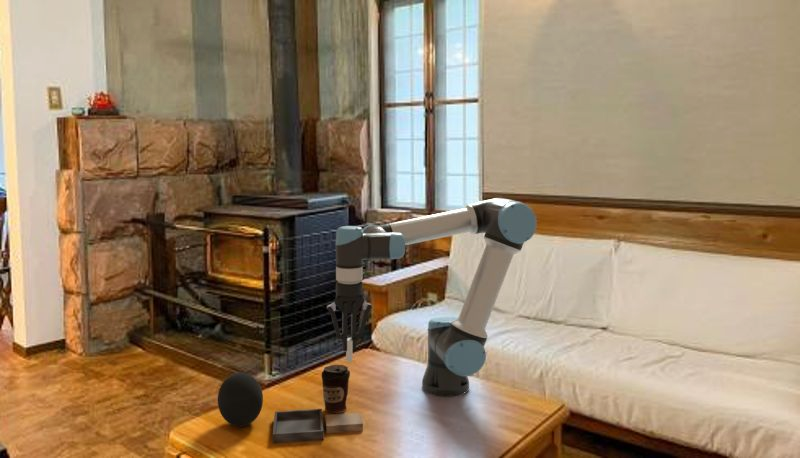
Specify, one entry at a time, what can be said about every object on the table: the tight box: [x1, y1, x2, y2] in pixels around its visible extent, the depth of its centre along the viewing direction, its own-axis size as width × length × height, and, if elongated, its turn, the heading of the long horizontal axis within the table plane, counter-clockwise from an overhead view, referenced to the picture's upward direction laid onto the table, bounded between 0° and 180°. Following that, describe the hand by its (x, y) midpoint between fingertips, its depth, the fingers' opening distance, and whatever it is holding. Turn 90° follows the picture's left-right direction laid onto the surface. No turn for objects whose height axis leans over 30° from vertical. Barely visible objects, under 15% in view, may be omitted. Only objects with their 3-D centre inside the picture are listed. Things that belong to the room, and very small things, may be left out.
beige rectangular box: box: [324, 412, 364, 434], centre depth 183 cm, size 10×7×2 cm
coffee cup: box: [321, 364, 351, 414], centre depth 193 cm, size 9×8×13 cm
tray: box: [272, 408, 325, 444], centre depth 181 cm, size 13×14×2 cm
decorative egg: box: [217, 372, 264, 427], centre depth 183 cm, size 12×12×15 cm
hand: (349, 360), depth 188 cm, fingers closed
